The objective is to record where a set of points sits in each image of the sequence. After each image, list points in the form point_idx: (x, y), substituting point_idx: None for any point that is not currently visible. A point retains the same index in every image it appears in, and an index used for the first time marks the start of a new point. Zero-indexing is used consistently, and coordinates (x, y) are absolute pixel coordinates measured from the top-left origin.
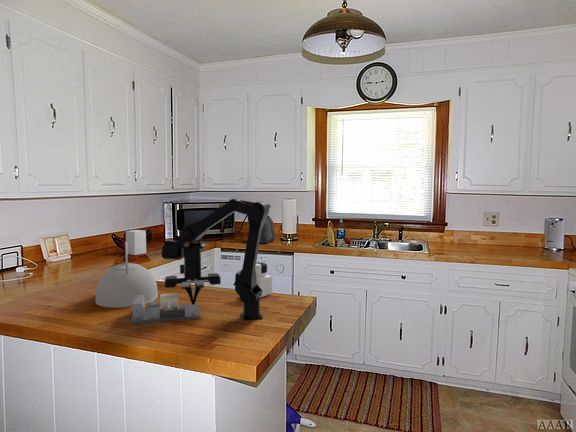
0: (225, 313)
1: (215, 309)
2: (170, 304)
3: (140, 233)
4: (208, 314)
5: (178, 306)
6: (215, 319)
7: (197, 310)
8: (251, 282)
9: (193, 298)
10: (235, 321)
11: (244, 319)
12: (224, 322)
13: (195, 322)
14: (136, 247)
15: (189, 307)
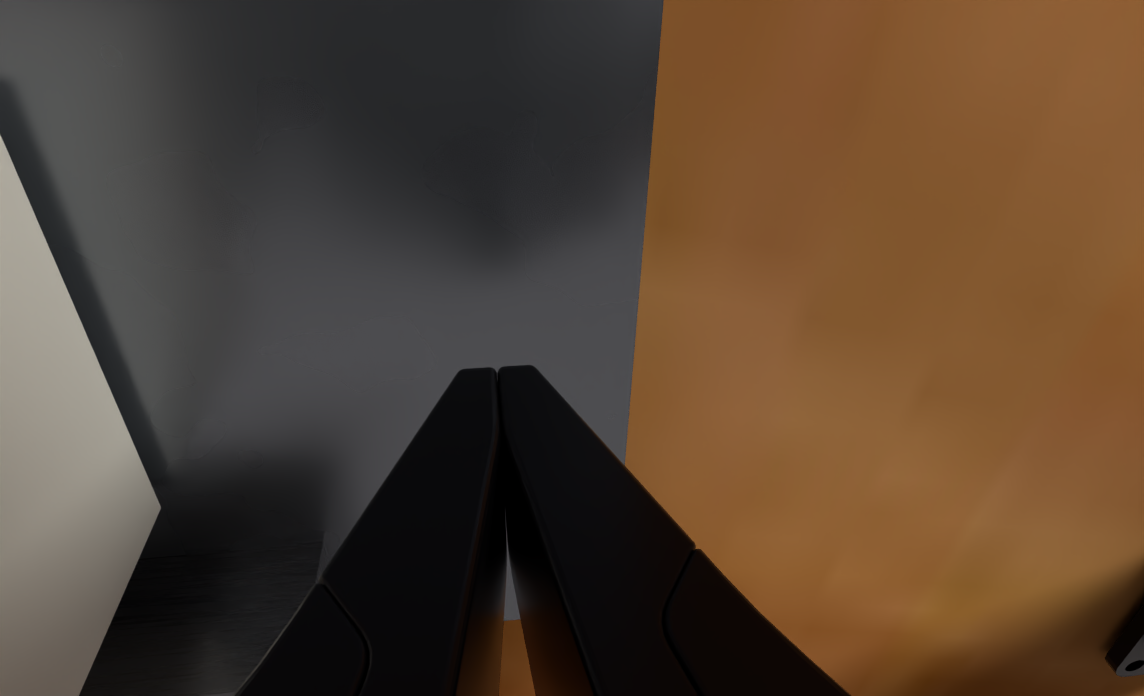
0: (1052, 422)
1: (1009, 169)
2: None
3: None
4: (770, 427)
5: (104, 635)
6: (806, 608)
7: (587, 387)
8: None
9: (519, 565)
10: (1000, 667)
11: (1112, 668)
12: (872, 683)
13: (521, 670)
14: None
15: (371, 117)
